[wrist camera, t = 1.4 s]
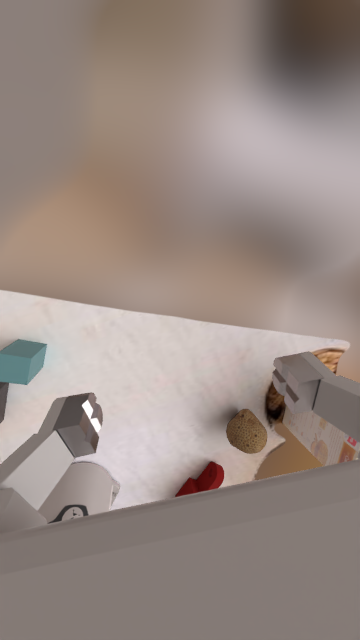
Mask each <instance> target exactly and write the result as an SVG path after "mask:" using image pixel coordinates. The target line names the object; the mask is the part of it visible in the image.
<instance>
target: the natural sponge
mask: <svg viewBox="0 0 360 640" xmlns="http://www.w3.org/2000/svg"><path fill="white" fill-rule="evenodd" d="M226 434H227V438H228V440H229V442H230V444H231V445H233V446H234V447H236V448H237V449H239V450H241V451H243V452H245V453H250V454H252V453H257V452H260V451H261V450H262V449H263V448H264V447H265V444H266V441H267V432H266V429H265V428H264V426H263V425H262V424H261V422H260V421H259V420H258V419H257V418H256V416H255V415H254V414H253V413H252V412H251V411H250V410H248V409H242V410H241V411H240V412H239V413H238V414H237V415H236V416H235V418H233V419H232V420H231V421H230V422H229V423H228V425H227V430H226Z"/></svg>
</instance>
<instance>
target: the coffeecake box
mask: <svg viewBox="0 0 360 640" xmlns="http://www.w3.org/2000/svg"><path fill="white" fill-rule="evenodd" d="M282 423H283V424H284V425H285V427H286V428H287V429H288V430H289V431H290V432H291V433H292V434H293V435H295V437H296V438H297V439H298V440H299V441H300V442H301V443H302V444H303V445H304V446H305V447H306V448H307V449H308V450H309V451H310V452H311V453H312V454H313V455H314V456H315V457H316V458H317V460H318V461H319V462H320V463H321V464H322V465H323V466H328V465H333V464H338V463H342V462H347V461H352V460H357V459H358V458H357V456H358V453H359V451H360V443H359V442H358V441H356V440H355V439H353V438H351V437H350V436H348V435H347V434H345V433H344V432H342V431H341V430H339V429H338V428H336V427H335V426H333V425H332V424H330V423H329V422H327V421H326V420H324V419H323V418H321V417H320V416H318V415H317V414H315V413H314V412H313V411H308V412H302V413H296V414H292V412H291V411H290V409H289V408H288V406H287V405H286V409H285V413H284V417H283V421H282Z"/></svg>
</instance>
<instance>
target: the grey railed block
mask: <svg viewBox="0 0 360 640" xmlns="http://www.w3.org/2000/svg"><path fill="white" fill-rule="evenodd" d="M8 386H9V383H8V382H0V423H1V422H2V421H3V420H4V413H5V406H6V399H7V393H8Z"/></svg>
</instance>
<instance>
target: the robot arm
mask: <svg viewBox="0 0 360 640" xmlns="http://www.w3.org/2000/svg"><path fill="white" fill-rule="evenodd" d="M273 365H274V367H275V368H276V369H275V370H274V371H273V375H272V379H273V383H274V386H275V388H276V390H277V391H278V393H279V394H281V395H283V396H285V398H284V402H285V403H286V405H287V406H288V408H289V409H290V411H291V412H292V414H296V413H302V412H308V411H313V412H314V413H315V414H317V415H318V416H320V417H321V418H323V419H324V420H326V421H327V422H329V423H330V424H332V425H333V426H335V427H336V428H338V429H339V430H341V431H342V432H344V433H345V434H347V435H348V436H350V437H351V438H353V439H355V440H356V441H358V442H359V443H360V383H358V382H355V381H353V380H350V379H348V378H345V377H343V376H336V375H335V374H334V373H333V372H332V371H331V370H330V369H329V368H327V367H326V366H325V365H324V364H323V363H322V362H321V361H320V360H319V359H318V358H317V357H315V356H314V355H313V354H312V353H311V352H304V353H299V354H294V355H289V356H284V357H279V358H275V360H274V364H273ZM95 402H96V396H95V394H94V393H85V394H79V395H73V396H68V397H62V398H57V399H56V400H54V402H53V404H52V406H51V408H50V410H49V412H48V414H47V416H46V418H45V420H44V422H43V424H42V426H41V428H40V430H39V432H38V434H34V435H33V436H31V437H30V438H29V439H28V440H27V441H26V442H25V443H24V444H23V445H21V446H20V447H19V448H18V449H17V450H16V451H15V452H14V453H13V454H11V455H10V456H9V457H8V458H7V459H6V460H5V461H4V462H3V463H2V464H0V640H360V451H359V453H358V456H357V458H358V459H357V460H352V461H347V462H342V463H338V464H333V465H328V466H323V467H318V468H313V469H309V470H304V471H299V472H295V473H290V474H285V475H280V476H275V477H270V478H266V479H261V480H256V481H251V482H246V483H241V484H237V485H232V486H227V487H222V488H217V489H212V490H208V491H203V492H198V493H193V494H188V495H184V496H179V497H174V498H169V499H165V500H160V501H155V502H150V503H145V504H141V505H136V506H131V507H126V508H121V509H117V510H112V511H110V507H111V506H112V504H113V502H114V500H115V498H116V496H117V494H118V492H119V489H120V485H119V484H118V483H117V482H116V481H114V480H113V479H112V478H111V477H110V475H109V473H108V472H107V471H106V470H105V469H104V468H103V467H101V466H99V465H97V464H93V463H86V462H82V463H74V464H71V463H72V462H73V461H74V459H75V457H80V456H84V455H89V454H93V453H96V449H97V444H98V440H99V436H98V434H97V432H98V431H99V429H100V428H101V427H102V422H103V413H102V409H101V407H100V405H99V404H97V403H95Z"/></svg>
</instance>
